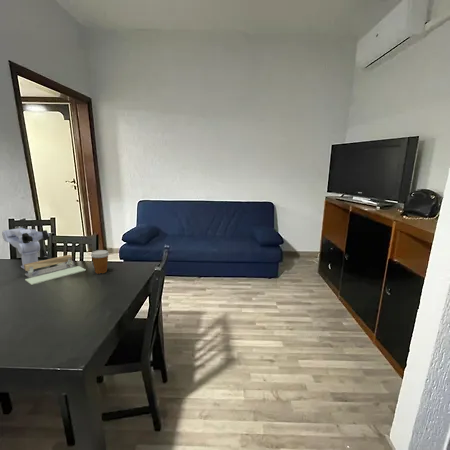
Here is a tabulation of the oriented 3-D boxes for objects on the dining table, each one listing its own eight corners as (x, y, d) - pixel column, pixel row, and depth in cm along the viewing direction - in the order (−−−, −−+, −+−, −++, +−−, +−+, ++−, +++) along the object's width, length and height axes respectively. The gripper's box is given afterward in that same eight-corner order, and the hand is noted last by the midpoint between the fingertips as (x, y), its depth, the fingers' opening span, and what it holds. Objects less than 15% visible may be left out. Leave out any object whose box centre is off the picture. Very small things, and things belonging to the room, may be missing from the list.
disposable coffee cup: (105, 275, 162) (104, 254, 159) (89, 274, 162) (87, 254, 159) (112, 269, 171) (111, 250, 168) (96, 268, 171) (95, 249, 169)
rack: (25, 274, 158) (23, 265, 157) (68, 264, 176) (67, 255, 175) (29, 278, 154) (28, 268, 153) (73, 267, 172) (72, 258, 171)
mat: (25, 280, 151) (25, 279, 151) (78, 266, 173) (78, 266, 173) (31, 285, 146) (31, 284, 146) (85, 270, 167) (85, 269, 167)
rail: (24, 269, 156) (23, 264, 155) (70, 259, 174) (69, 254, 174) (26, 271, 154) (25, 265, 153) (72, 260, 173) (71, 255, 172)
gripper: (14, 230, 156) (23, 232, 147) (44, 226, 167) (53, 228, 159) (16, 243, 157) (25, 246, 149) (45, 238, 168) (55, 240, 160)
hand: (40, 237), depth 154 cm, fingers open, 7 cm apart
